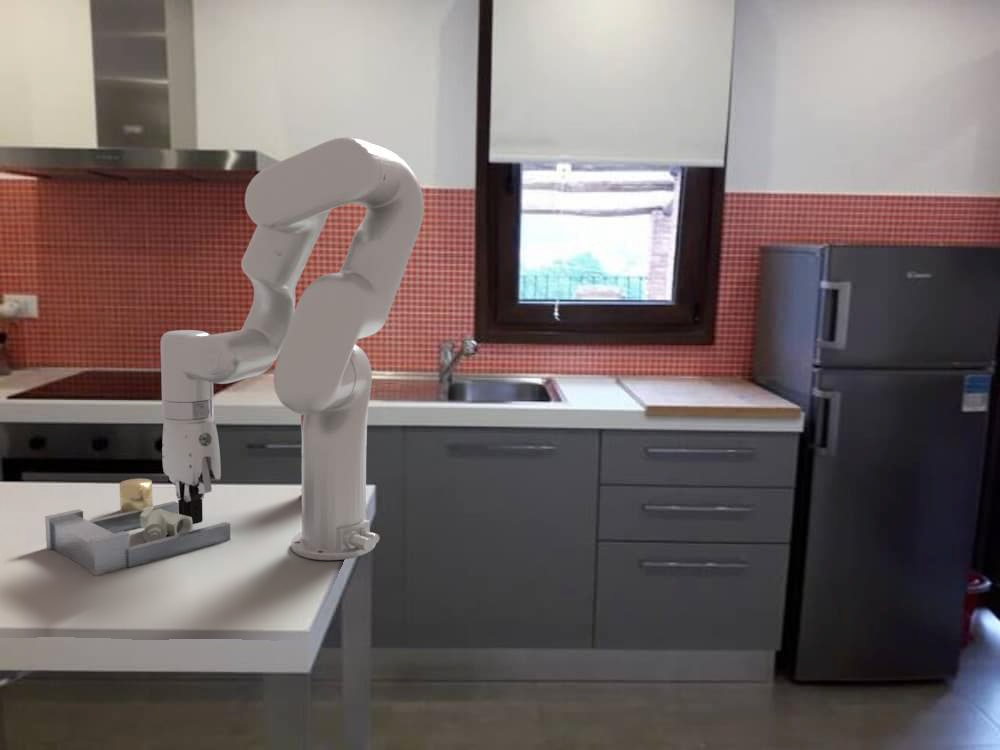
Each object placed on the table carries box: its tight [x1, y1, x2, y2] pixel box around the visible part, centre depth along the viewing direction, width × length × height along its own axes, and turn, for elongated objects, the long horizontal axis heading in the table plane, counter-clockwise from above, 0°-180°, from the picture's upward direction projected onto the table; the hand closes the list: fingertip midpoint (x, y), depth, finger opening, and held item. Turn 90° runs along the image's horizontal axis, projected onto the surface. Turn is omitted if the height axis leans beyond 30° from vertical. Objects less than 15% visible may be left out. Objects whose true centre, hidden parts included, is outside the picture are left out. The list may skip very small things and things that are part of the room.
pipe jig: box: [44, 501, 231, 576], centre depth 123 cm, size 16×20×5 cm
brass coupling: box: [119, 478, 154, 513], centre depth 138 cm, size 5×5×5 cm
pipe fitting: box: [140, 506, 194, 543], centre depth 126 cm, size 8×4×7 cm
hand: (190, 522), depth 130 cm, fingers closed
